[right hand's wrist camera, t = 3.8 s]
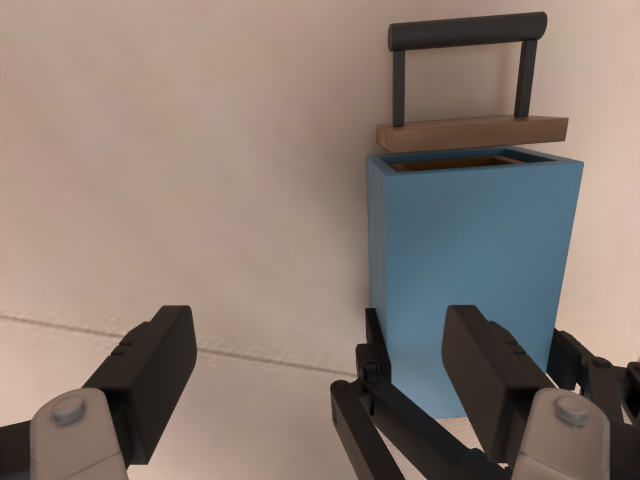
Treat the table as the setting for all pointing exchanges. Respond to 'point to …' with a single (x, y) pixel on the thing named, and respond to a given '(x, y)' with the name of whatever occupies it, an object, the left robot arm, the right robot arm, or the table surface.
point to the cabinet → (466, 256)
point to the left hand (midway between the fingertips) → (443, 318)
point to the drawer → (467, 129)
